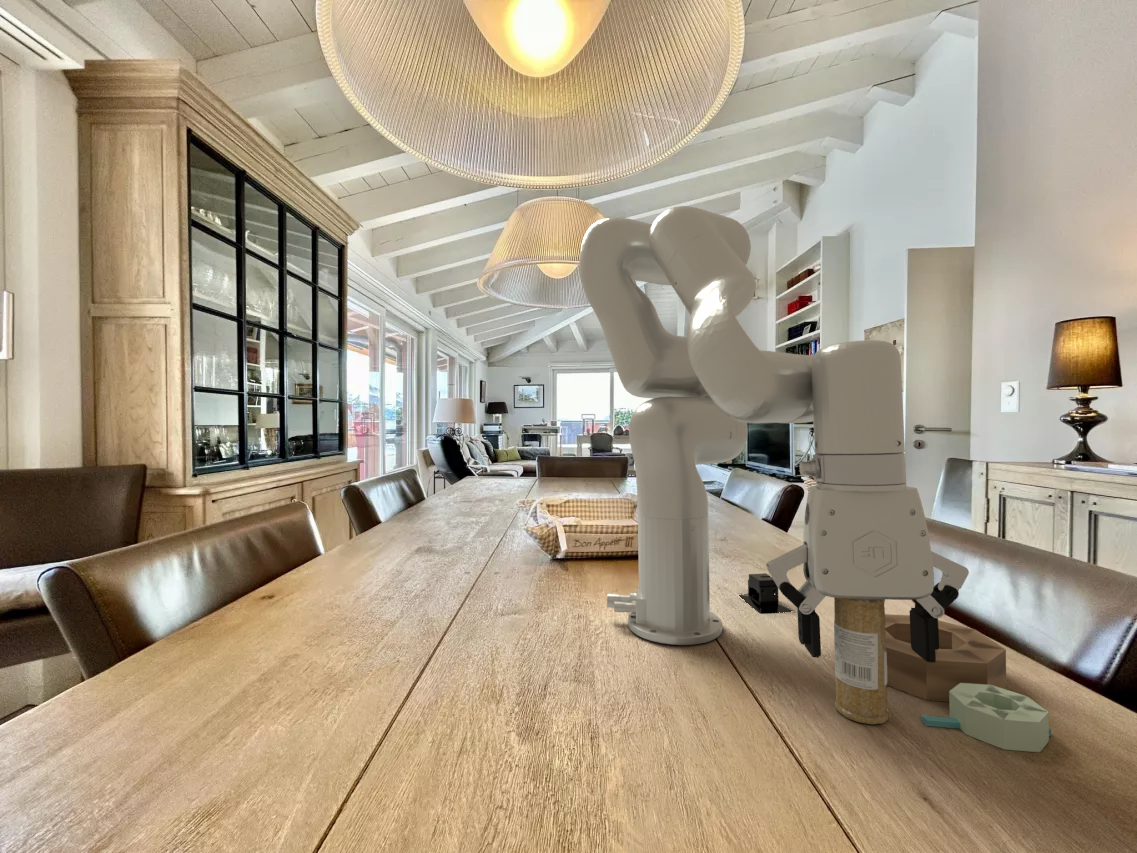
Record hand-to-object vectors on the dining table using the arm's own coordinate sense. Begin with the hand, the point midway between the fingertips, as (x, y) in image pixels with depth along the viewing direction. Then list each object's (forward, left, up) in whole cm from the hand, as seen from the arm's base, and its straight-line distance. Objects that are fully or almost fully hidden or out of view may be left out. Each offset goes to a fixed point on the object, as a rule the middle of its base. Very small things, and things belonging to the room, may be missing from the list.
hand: (866, 654), depth 49 cm
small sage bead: (+11, 0, -6) cm, 12 cm away
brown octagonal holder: (+10, +11, -6) cm, 15 cm away
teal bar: (+10, 0, -6) cm, 11 cm away
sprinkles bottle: (0, +1, -6) cm, 6 cm away
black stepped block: (-4, +32, -7) cm, 33 cm away
